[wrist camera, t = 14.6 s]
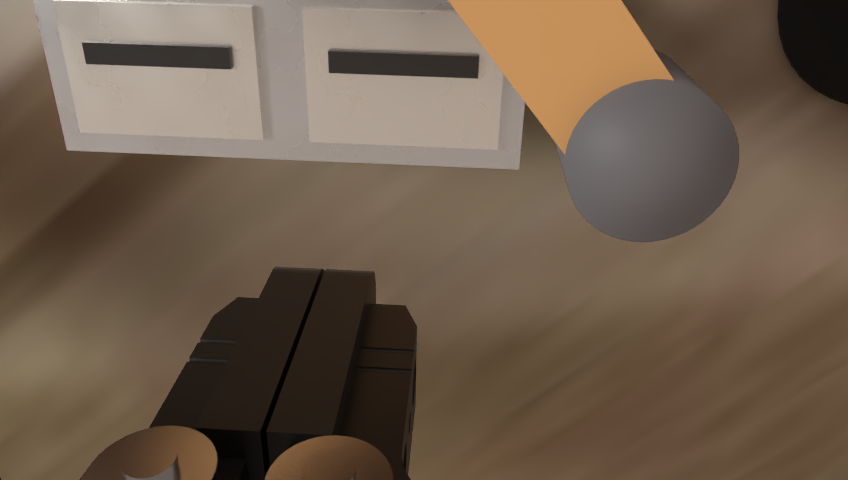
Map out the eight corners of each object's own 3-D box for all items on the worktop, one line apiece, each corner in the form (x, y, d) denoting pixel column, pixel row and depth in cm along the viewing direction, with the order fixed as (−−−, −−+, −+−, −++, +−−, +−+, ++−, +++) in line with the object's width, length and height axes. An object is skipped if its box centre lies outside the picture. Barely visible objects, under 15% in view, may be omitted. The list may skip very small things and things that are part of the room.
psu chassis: (171, 76, 34) (28, 177, 23) (151, -63, 31) (-23, -23, 20) (592, 92, 33) (652, 205, 22) (611, -50, 31) (690, 0, 19)
